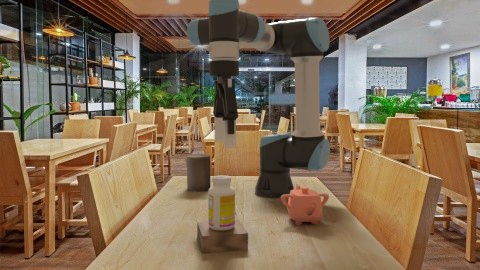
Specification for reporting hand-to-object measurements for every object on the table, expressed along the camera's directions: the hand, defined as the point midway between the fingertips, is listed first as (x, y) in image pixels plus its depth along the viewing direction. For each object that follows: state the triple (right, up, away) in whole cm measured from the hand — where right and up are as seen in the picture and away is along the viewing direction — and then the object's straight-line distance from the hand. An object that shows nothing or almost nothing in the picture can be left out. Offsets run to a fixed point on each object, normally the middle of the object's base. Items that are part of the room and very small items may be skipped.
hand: (224, 144), depth 102 cm
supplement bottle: (-1, -21, -2) cm, 21 cm away
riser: (-1, -25, -2) cm, 25 cm away
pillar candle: (-13, -20, +60) cm, 65 cm away
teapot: (+23, -24, +17) cm, 37 cm away
